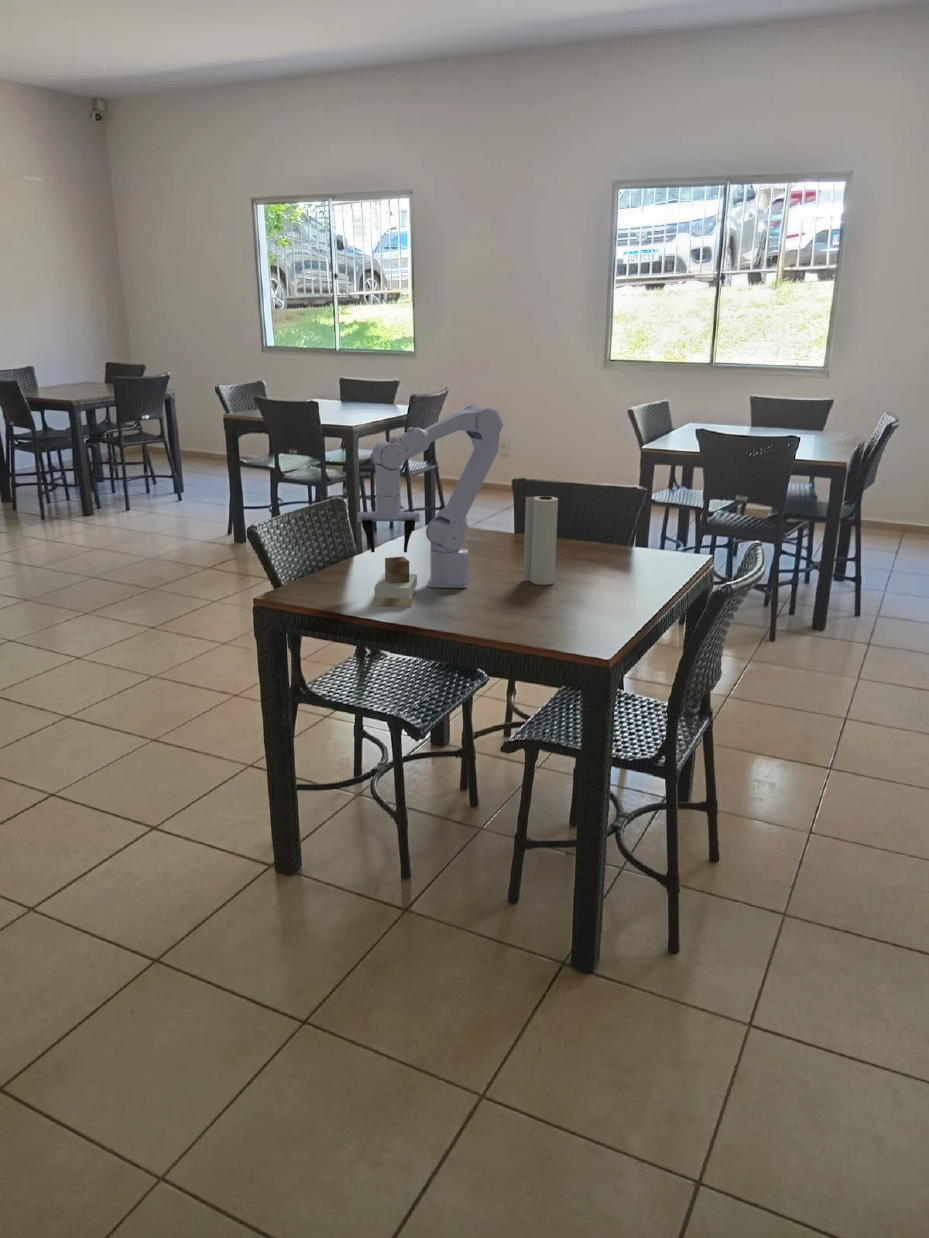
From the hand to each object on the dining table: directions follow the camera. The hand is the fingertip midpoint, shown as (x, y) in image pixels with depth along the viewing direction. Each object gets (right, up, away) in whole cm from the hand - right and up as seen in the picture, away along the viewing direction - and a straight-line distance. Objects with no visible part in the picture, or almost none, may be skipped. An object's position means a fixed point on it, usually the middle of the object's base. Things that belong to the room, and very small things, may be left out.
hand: (389, 551), depth 218 cm
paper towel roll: (+37, -7, +13) cm, 40 cm away
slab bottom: (+2, -12, -2) cm, 12 cm away
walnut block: (+2, -7, -4) cm, 8 cm away
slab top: (+2, -9, -3) cm, 10 cm away
